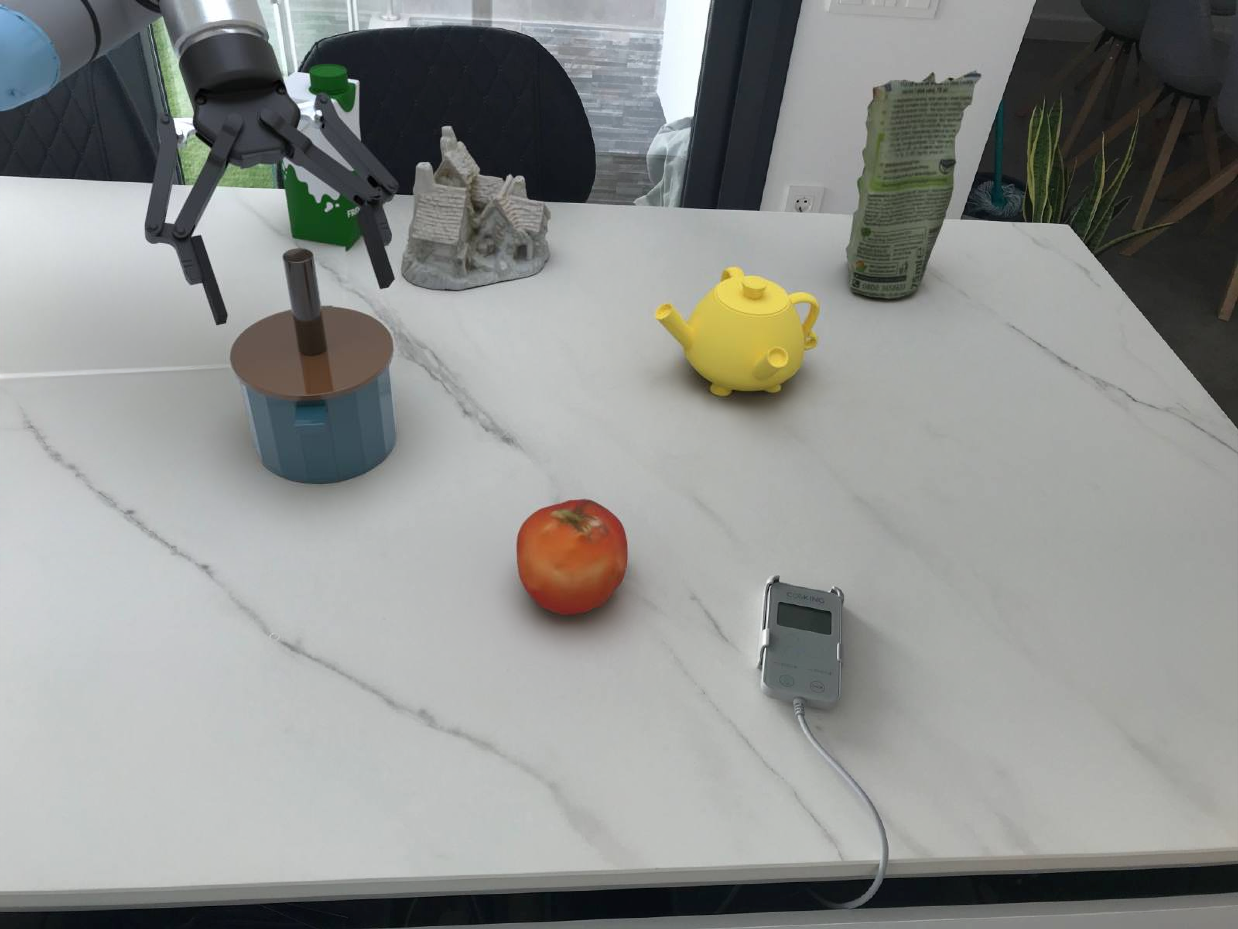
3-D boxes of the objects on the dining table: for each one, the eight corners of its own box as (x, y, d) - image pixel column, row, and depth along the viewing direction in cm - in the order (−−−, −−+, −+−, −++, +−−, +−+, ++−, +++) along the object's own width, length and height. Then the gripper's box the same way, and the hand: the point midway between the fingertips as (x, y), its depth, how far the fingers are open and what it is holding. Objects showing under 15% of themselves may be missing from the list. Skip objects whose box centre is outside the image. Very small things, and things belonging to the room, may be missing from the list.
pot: (246, 509, 83) (225, 422, 77) (265, 384, 97) (247, 301, 90) (397, 498, 86) (388, 413, 79) (395, 378, 99) (387, 296, 93)
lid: (223, 411, 79) (196, 303, 72) (241, 320, 89) (218, 217, 82) (395, 402, 82) (384, 296, 75) (393, 314, 92) (384, 214, 85)
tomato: (544, 647, 74) (547, 576, 69) (496, 567, 80) (495, 495, 75) (649, 607, 78) (659, 537, 73) (596, 533, 84) (601, 463, 79)
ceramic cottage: (381, 273, 113) (379, 149, 104) (452, 221, 126) (456, 105, 116) (501, 316, 110) (510, 191, 101) (562, 258, 122) (575, 142, 113)
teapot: (643, 379, 102) (654, 286, 94) (707, 323, 111) (721, 234, 103) (767, 434, 96) (788, 339, 89) (823, 370, 105) (846, 280, 98)
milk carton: (352, 255, 117) (331, 86, 103) (280, 243, 118) (251, 74, 104) (380, 222, 123) (364, 60, 110) (312, 211, 124) (288, 49, 111)
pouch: (822, 288, 118) (872, 80, 102) (844, 246, 127) (893, 47, 111) (914, 312, 116) (979, 102, 99) (929, 268, 124) (993, 67, 108)
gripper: (364, 57, 88) (438, 282, 89) (59, 92, 77) (146, 348, 78) (381, 13, 81) (461, 257, 82) (49, 44, 70) (144, 325, 71)
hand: (308, 302), depth 80 cm, fingers open, 13 cm apart
